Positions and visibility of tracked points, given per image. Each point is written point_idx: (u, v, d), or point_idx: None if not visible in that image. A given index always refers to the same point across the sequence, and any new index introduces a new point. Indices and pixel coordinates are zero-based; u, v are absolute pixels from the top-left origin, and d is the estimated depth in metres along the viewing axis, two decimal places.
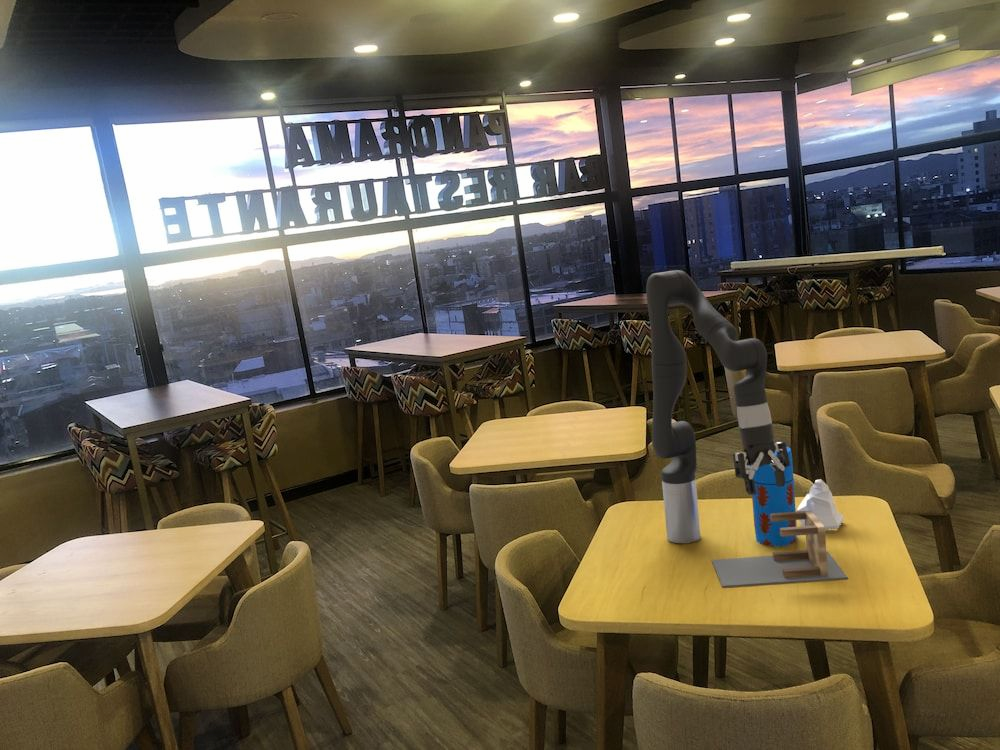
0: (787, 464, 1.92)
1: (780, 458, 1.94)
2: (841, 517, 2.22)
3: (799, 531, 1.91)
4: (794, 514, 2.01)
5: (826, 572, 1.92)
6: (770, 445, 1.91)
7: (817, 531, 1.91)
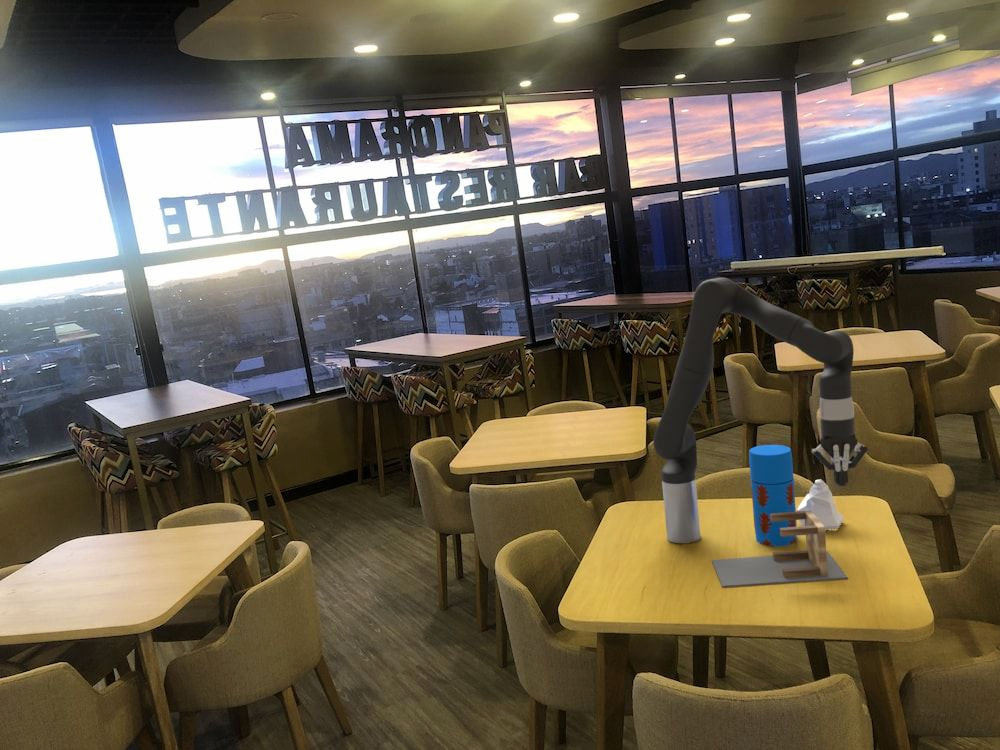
0: (852, 465, 1.92)
1: (852, 458, 1.94)
2: (841, 517, 2.22)
3: (799, 531, 1.91)
4: (794, 514, 2.01)
5: (826, 572, 1.92)
6: (853, 437, 1.91)
7: (817, 531, 1.91)
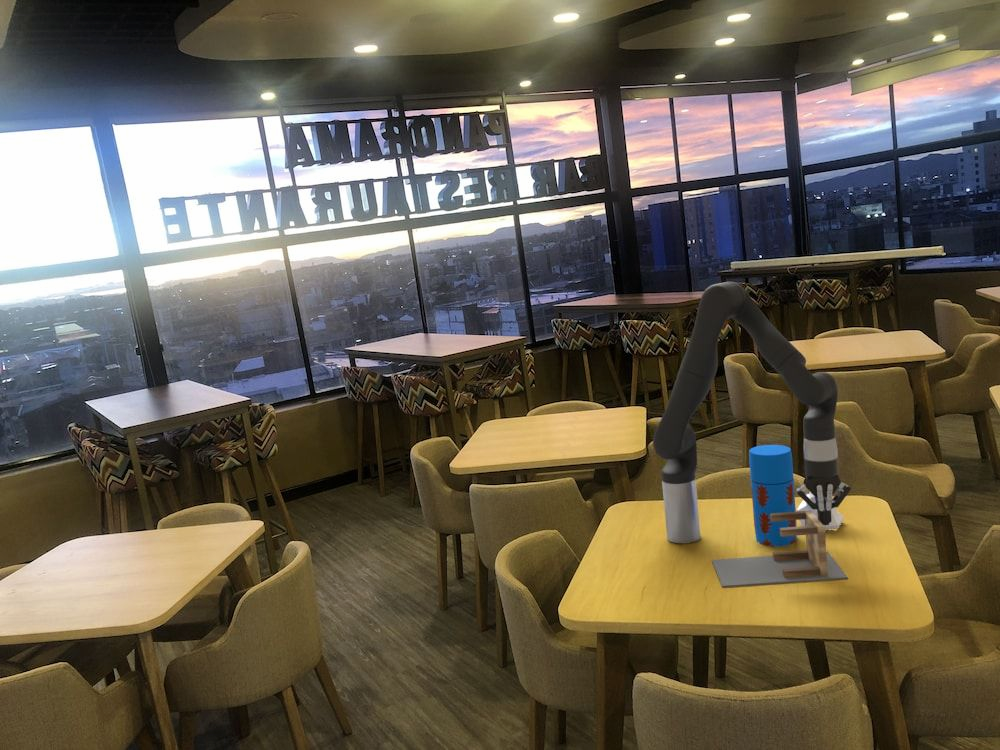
0: (835, 505, 1.94)
1: (836, 497, 1.96)
2: (841, 517, 2.22)
3: (799, 531, 1.91)
4: (794, 514, 2.01)
5: (826, 572, 1.92)
6: (836, 478, 1.93)
7: (817, 531, 1.91)
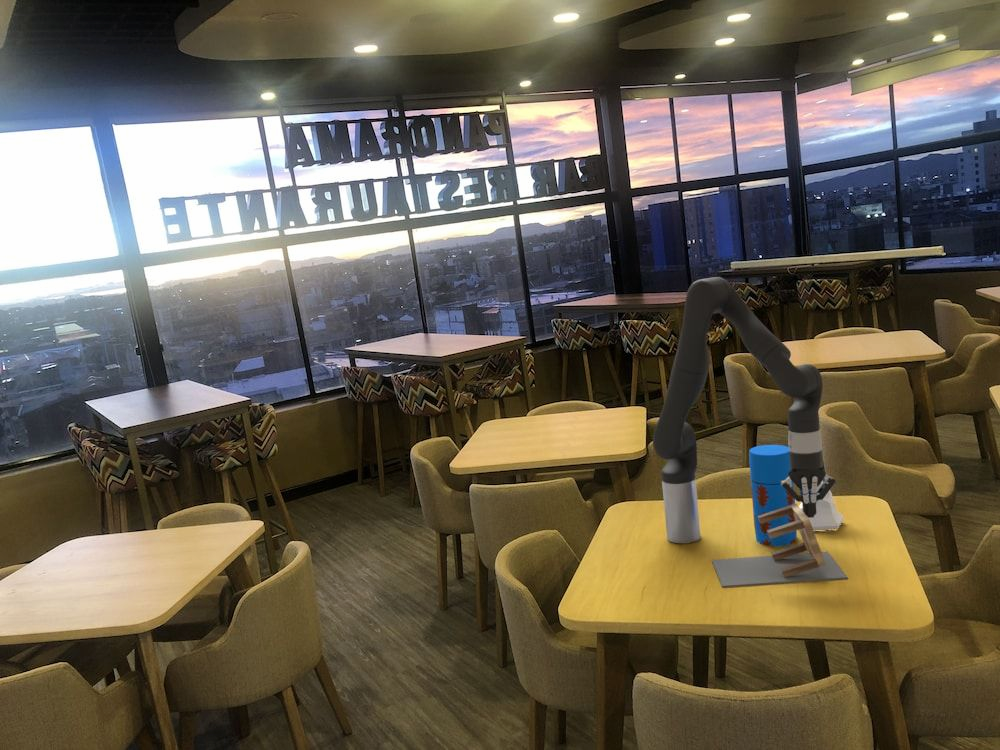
0: (820, 497, 1.94)
1: (821, 489, 1.96)
2: (841, 517, 2.22)
3: (786, 529, 1.91)
4: (781, 511, 2.01)
5: (823, 562, 1.92)
6: (821, 470, 1.93)
7: (804, 525, 1.91)
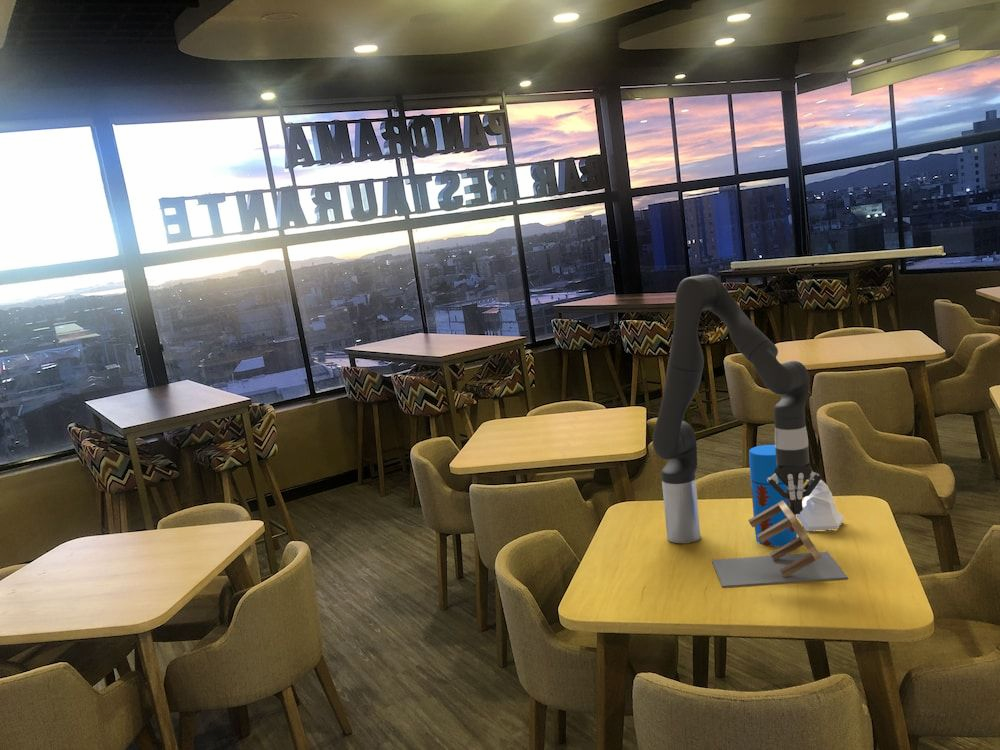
0: (806, 494, 1.94)
1: (807, 486, 1.96)
2: (841, 517, 2.22)
3: (774, 530, 1.92)
4: (769, 511, 2.02)
5: (819, 555, 1.92)
6: (807, 466, 1.93)
7: (791, 522, 1.91)
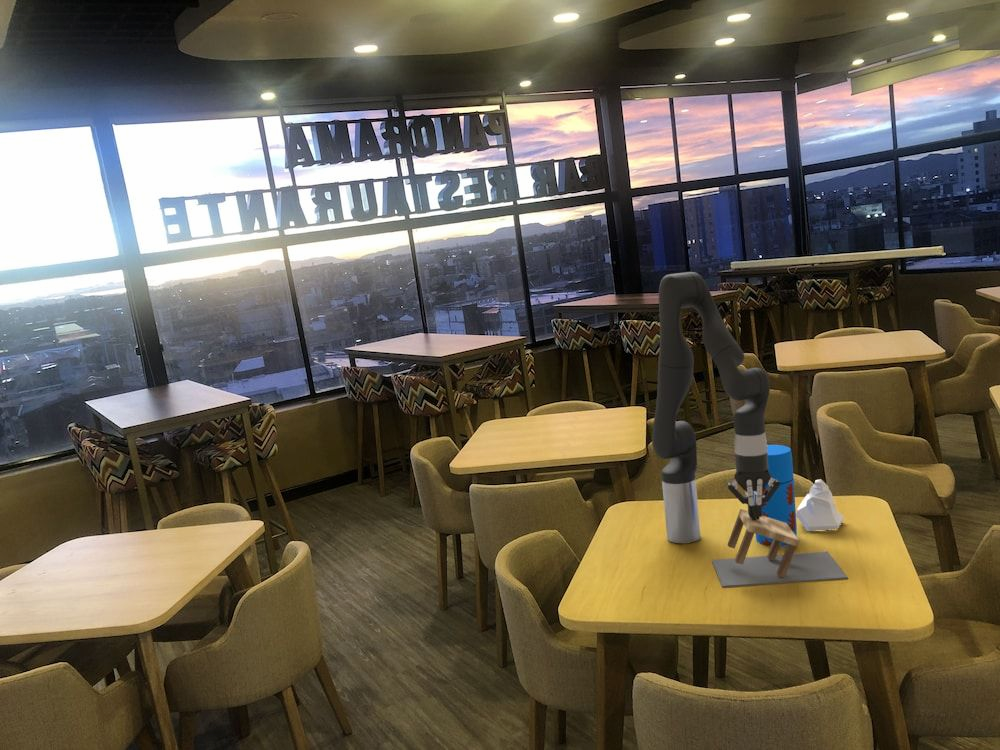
0: (765, 500, 1.96)
1: (766, 492, 1.97)
2: (841, 517, 2.22)
3: (744, 548, 1.93)
4: (736, 526, 2.03)
5: (796, 540, 1.92)
6: (766, 473, 1.95)
7: (751, 532, 1.92)
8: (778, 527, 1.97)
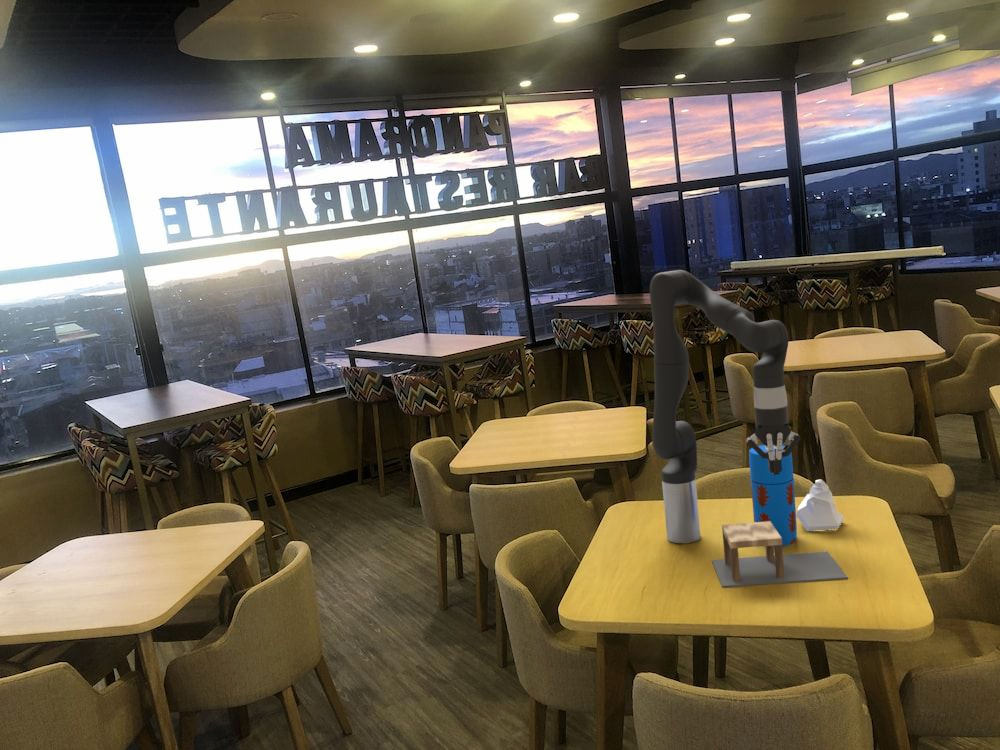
0: (785, 454, 1.93)
1: (786, 447, 1.95)
2: (841, 517, 2.22)
3: (734, 565, 1.94)
4: (725, 543, 2.04)
5: (779, 539, 1.92)
6: (786, 426, 1.92)
7: (734, 548, 1.93)
8: (760, 531, 1.98)
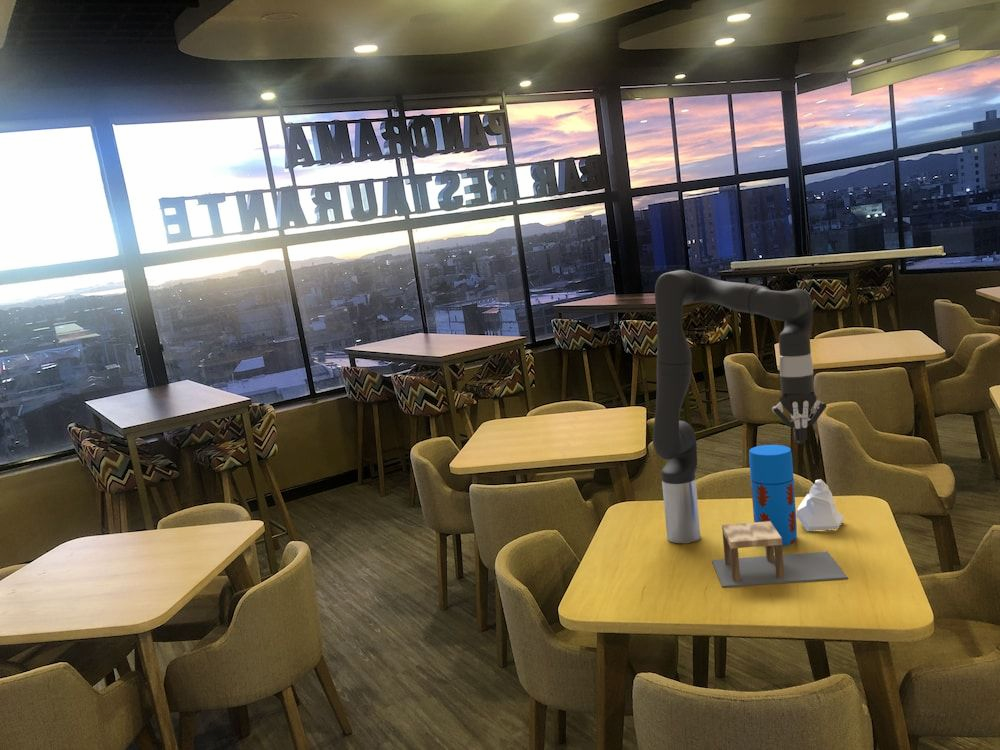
0: (811, 422, 1.94)
1: (812, 415, 1.96)
2: (841, 517, 2.22)
3: (734, 565, 1.94)
4: (725, 543, 2.04)
5: (779, 539, 1.92)
6: (812, 394, 1.93)
7: (734, 548, 1.93)
8: (760, 531, 1.98)
